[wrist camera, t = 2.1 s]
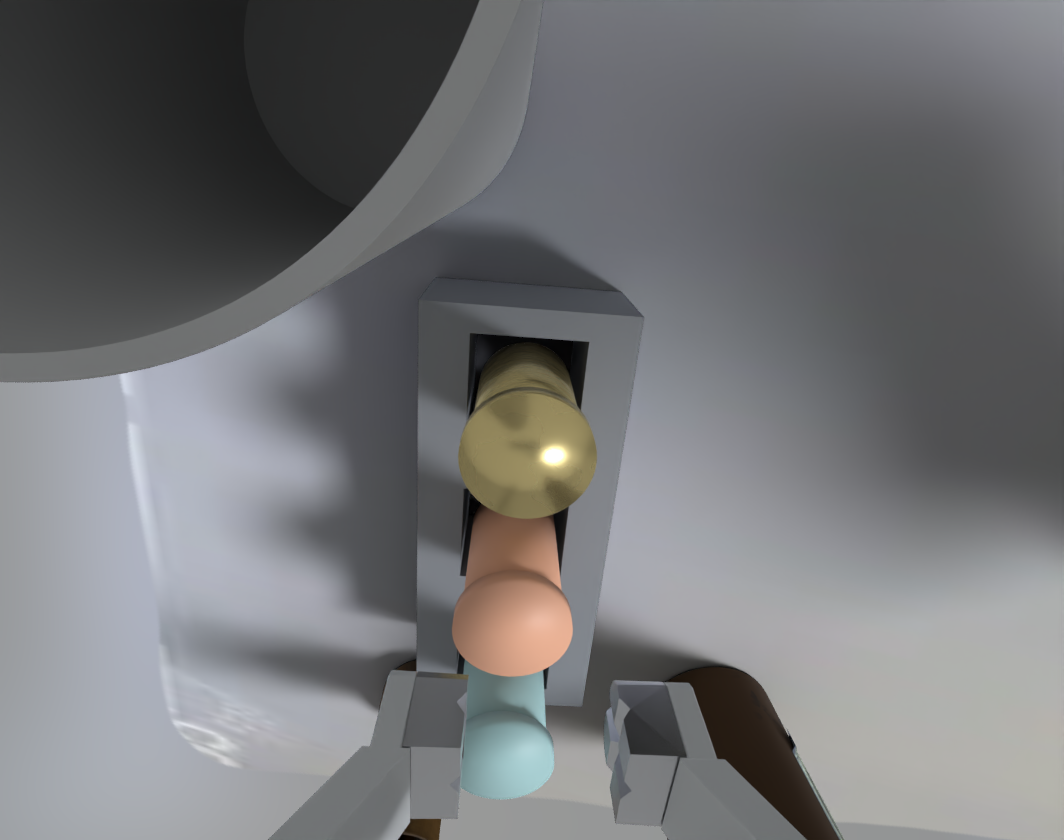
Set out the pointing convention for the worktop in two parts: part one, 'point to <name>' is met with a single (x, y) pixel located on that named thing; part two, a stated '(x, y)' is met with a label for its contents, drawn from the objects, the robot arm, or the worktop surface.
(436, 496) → the grey plug holder block
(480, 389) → the plug
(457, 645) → the plug
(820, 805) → the olive oil
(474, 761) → the plug
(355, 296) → the worktop surface
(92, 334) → the cylinder vase
